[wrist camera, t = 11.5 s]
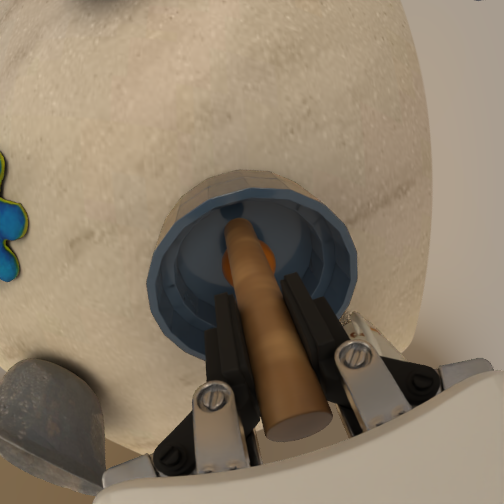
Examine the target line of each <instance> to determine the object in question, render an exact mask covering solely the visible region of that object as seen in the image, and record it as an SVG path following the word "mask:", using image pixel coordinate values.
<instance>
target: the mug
mask: <svg viewBox="0 0 504 504" xmlns="http://www.w3.org/2000/svg"><path fill="white" fill-rule="evenodd" d="M350 320H351V322H350V323H348V324H346V325H344V326H343V328H344V330H345V331H346V333H347V335H348V336H349V338H350V340H352V339H361V340H365V341H367V342H369V343H371V344H372V345H373V347H374V348H375V349H376V351H377V352H378V354H379V355H380V356H384V357H388V358H393V359H397V360H402V361H406V362H408V361H407V360H406V359H405V358H404V357H403V356H402V354H401V353H400V352H399V351H398V350H397V349H396V348H395V347H394V346H393V345H392V344H391V343H390V342H389V341H388V340H387V339H386V338H385V337H384V336H383V335H382V334H381V333H380V332H379V331H378V330H377V329H376V328H375V326H373V325H372V324H371V323H370V322H369V321H367V320H364V318H363V317H362V316H361V315H360V314H359V313H358V312H356V311H354V312H352V314H351V316H350Z"/></svg>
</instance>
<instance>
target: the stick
mask: <svg viewBox="0 0 504 504" xmlns="http://www.w3.org/2000/svg"><path fill="white" fill-rule="evenodd" d="M224 236H225V241H226V247H227V252H228V258H229V263H230V269H231V274H232V279H233V285H234V290H235V295H236V300H237V305H238V309H239V312H240V317H241V322H242V327H243V331H244V336H245V341H246V346H247V351H248V355H249V360H250V365H251V369H252V374H253V379H254V383H255V392H256V397H257V401H258V406H259V410H260V415H261V419H262V424H263V428H264V432H265V436H266V437H267V438H268V439H269V440H272V441H276V442H288V441H295V440H299V439H303V438H306V437H308V436H311V435H313V434H315V433H317V432H319V431H321V430H322V429H324V428H325V427H326V426H327V425H329V423H330V422H331V420H332V418H333V414H332V411H331V409H330V407H329V404H328V402H327V399H326V397H325V395H324V392H323V390H322V387H321V385H320V383H319V380H318V378H317V375H316V373H315V371H314V370H313V368H312V366H311V363H310V361H309V358H308V356H307V354H306V351H305V349H304V347H303V344H302V342H301V339H300V337H299V335H298V332H297V330H296V327H295V325H294V323H293V320H292V318H291V316H290V313H289V311H288V308H287V306H286V304H285V301H284V299H283V295H282V293H281V291H280V288H279V286H278V284H277V281H276V279H275V277H274V274H273V272H272V270H271V267H270V265H269V263H268V260H267V258H266V256H265V254H264V251H263V249H262V247H261V244H260V242H259V240H258V238H257V235H256V233H255V231H254V228H253V226H252V224H251V223H250V222H249V221H248V220H246V219H244V218H235V219H233V220H231V221H229V222H228V223H227V225H226V226H225V229H224Z"/></svg>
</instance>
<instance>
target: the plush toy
mask: <svg viewBox="0 0 504 504" xmlns="http://www.w3.org/2000/svg"><path fill="white" fill-rule="evenodd" d="M4 164H5V162H4V157H3V156H2V154H1V152H0V187H1V181H2V179H3V177H4V169H5V168H4V167H5V165H4ZM0 190H1V189H0ZM27 217H28V216H27V212H25V209H24V208H23V206H22V205H21V204H20V203H15V202H12V201H7V200H4V199H2V198H0V279H1V280H3V281H5V282H10V281H12V280H13V279H15V278H16V277H17V275H18V273H19V262H18V260H17V259H16V256H15V255H14V253H13V252H12V251H11V250H10V249H9V247H6V241H7V240H11V241H13V240H16V239H19V238H21V237H23V236H24V235H25V233H26V231H27V228H28V219H27Z"/></svg>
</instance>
